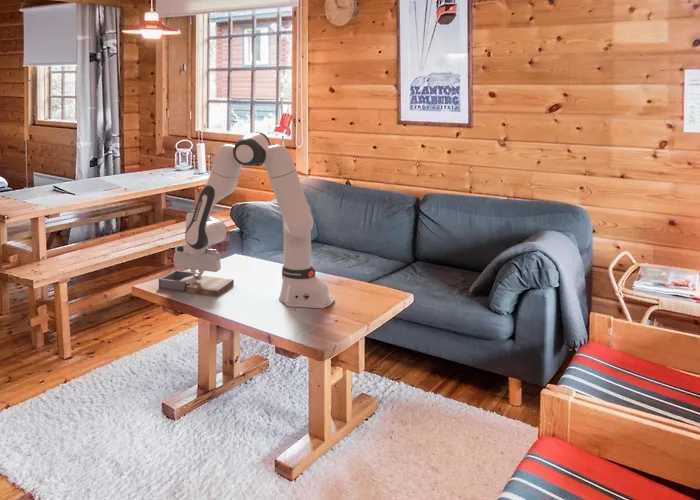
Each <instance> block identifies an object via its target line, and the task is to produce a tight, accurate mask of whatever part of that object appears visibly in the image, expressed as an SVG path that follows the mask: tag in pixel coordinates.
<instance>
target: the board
mask: <svg viewBox="0 0 700 500" xmlns="http://www.w3.org/2000/svg"><path fill="white" fill-rule="evenodd" d="M234 285H235V284H234V279H232V278H231V279H230V278H224V277H216V276H206V275H202V279H201V280H196V281H195V282H193V283H191V284H190V285H188V286H186V291H185V293H187V294H194V295H201V296H202V295H203V296H210V297H218V296H220V295H222V294H223V293H224V292H226V291H227V290H229V289H230V288H231V287H234Z"/></svg>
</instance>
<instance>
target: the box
mask: <svg viewBox="0 0 700 500" xmlns="http://www.w3.org/2000/svg"><path fill="white" fill-rule="evenodd" d="M196 274H197V275H199V274H200V272H196ZM190 276H193V274H192V273H191V271H187V270H180V269H179V270H178V269H175V270H173V271H171V272H169V273H167V274H165V275H164V276H162V277H160V278H159V279H158V289H163V290H170V291H178V292H184V293H186V286H188V285H190V284H187V285H186V282H184V281H180V280H182V279H183V278H185V277H190Z"/></svg>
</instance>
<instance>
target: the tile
mask: <svg viewBox="0 0 700 500" xmlns="http://www.w3.org/2000/svg"><path fill="white" fill-rule="evenodd" d="M196 280H197V279H194V278H193V276H190V277H185V278H183V279H182V280H180V281H184V282H186V285H187V284H191V283H193V282H195V281H196Z"/></svg>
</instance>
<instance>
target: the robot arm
mask: <svg viewBox="0 0 700 500" xmlns="http://www.w3.org/2000/svg"><path fill="white" fill-rule="evenodd" d="M243 166H247V167H261V166H263V167H264V168H265V170H266V173H267V177H268V179H269V182H270V185H271V189H272V191H273V195H274V197H275V200H276V203H277V205H278V209H279V212H280V214H281V217H282V221H283V225H282V227H283V228H282V229H283V231H282V233H283V265H282V269H281V278H282V283H281V284H282V285H281V290H280V295H279V296H278V300H279V301H280V302H281V303H283V304H285V306H286V307H293V308H309V309H310V308H311V309H325V307H327V306H329V305H331V304H332V303H334V302H335V298H334V295H331V294H330V291H329V288H328V285H327V284H326V283H325V282H324V281H322V280H321V279H320V278H319V277H318V276H316V271H317V267H315V268H314V267H313V266H312V239H311V238H312V233H311V232H312V230H313V227H314V218H313V215H312V212H311V209H310V207H309V204H308V201H307V198H306V194H305V192H304V189H303V186H302V183H301V181H300V180H301V179H300V177H299V174H298V171H297V168H296V165H295V163H294V161H293V158H292V157H291V154H290V152H289V150H288V149H287V147H286V146H284V145H283V144H282V145H281V144H275V145H274V144H273V145H271V141H270V139H269V137H268V136H267V134H265V133H263V132H260V131H254V132H253V131H252V132H250V133H249V134H247V133H246V134H245V135H243V136H242V137H241V138H239V139H238V140H237V141H236V142H235V143H234V145H233V144H223V145H220V147H218V149H217V151H216V153H215V155H214V159H213V162H212V165H211V170H210V174H209V178H208V179H207V182H206V183H205V185H204V187H203V189H201V192H200V195H199V197H198V199H197V202H196V206H195V209H193V210H190V211H188V212H187V213H186V217H185V232H184V233H185V236H184V237H185V242H182V243H180V244H178V245H176V246H175V247H174V251H175V252H174V253H173V265H174V267H175V268H178V269H179V268H181V269H187V270H188V269H189V270H190V272H191V273H192V274H193V278H194V279H197V280H201V279H202V277H203V274H204V273H205V272H212V273H217V272H219V271H220V270H221V268H222V265H221V252H219V251H218V250H217V249H212V248H209V246H212V245H216V244H218V243H221V242H224V241H225V240H226V238H227V235H228V229H227V226H226V224H225V223H224V222H223V221H222V220H221V219H216V218H215V217H213V216H211V213H212V211H213V208H214V207H215V205H216V204H217V203H219V202H220V201H221V200H222V199H225V198H226V197H228V196H229V195H231V194H232V193H234V192H235V189H236V188H237V186H238V184H239V179H240V177H241V176H240V175H241V170H242V167H243ZM197 271H198V273H200V274H199V275H197V274H196V273H197ZM333 301H334V302H333ZM332 305H333V304H332ZM332 305H331V306H332ZM329 307H330V306H329ZM327 308H328V307H327Z"/></svg>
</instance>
